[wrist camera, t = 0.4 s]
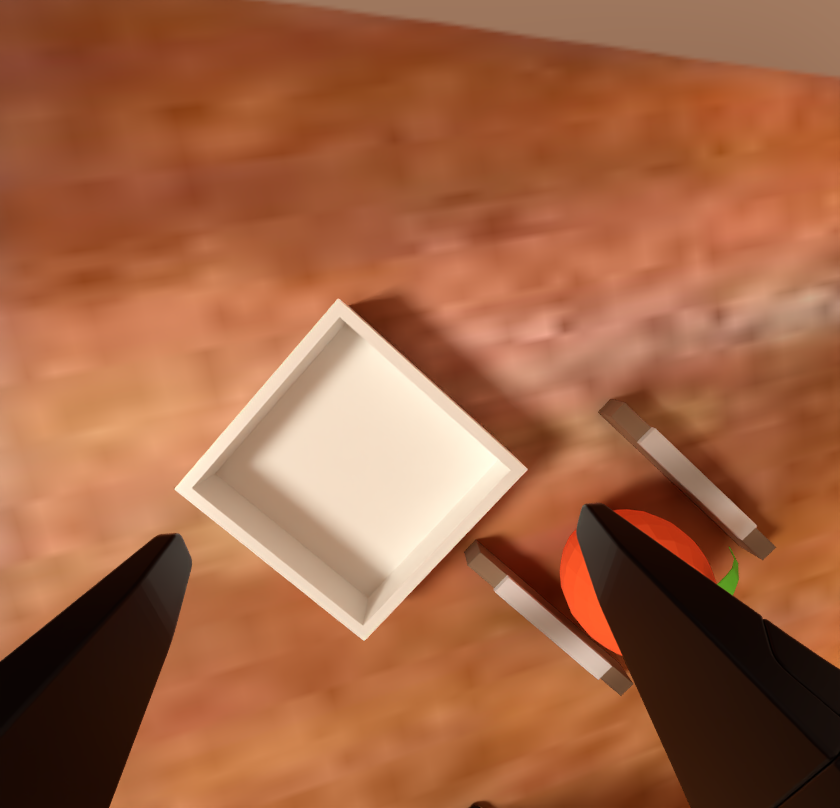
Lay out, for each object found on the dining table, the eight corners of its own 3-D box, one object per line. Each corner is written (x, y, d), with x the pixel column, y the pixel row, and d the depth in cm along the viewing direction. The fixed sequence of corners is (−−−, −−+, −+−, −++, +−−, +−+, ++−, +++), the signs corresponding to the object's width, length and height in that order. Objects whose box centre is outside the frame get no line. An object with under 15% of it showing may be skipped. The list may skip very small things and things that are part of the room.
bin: (512, 454, 23) (527, 469, 20) (370, 605, 24) (364, 640, 21) (348, 305, 22) (338, 298, 19) (205, 471, 23) (173, 489, 20)
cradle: (754, 534, 24) (781, 549, 22) (607, 675, 25) (622, 701, 23) (611, 398, 23) (628, 402, 21) (463, 552, 24) (467, 568, 22)
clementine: (644, 459, 23) (744, 506, 16) (695, 558, 24) (812, 643, 17) (521, 527, 24) (566, 602, 17) (575, 622, 25) (641, 732, 17)
